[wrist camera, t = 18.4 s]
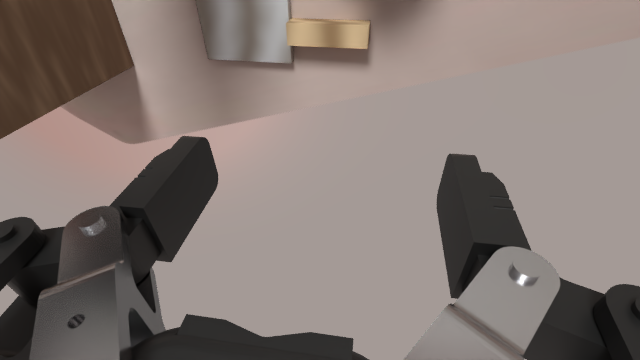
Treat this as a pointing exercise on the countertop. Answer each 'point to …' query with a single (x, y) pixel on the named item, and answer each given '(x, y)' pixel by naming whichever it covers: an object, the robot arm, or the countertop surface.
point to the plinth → (55, 55)
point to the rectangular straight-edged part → (270, 31)
